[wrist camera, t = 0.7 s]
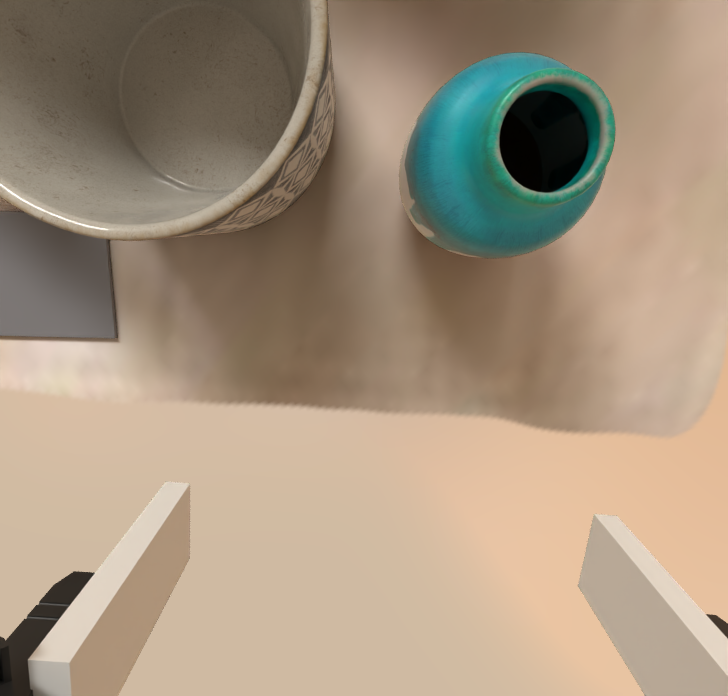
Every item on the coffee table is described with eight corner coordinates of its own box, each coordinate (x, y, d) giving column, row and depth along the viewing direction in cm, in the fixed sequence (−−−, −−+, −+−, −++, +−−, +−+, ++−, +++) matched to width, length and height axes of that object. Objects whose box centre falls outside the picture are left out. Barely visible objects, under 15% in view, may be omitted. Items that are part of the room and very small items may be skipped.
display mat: (-21, 210, 39) (-25, 210, 38) (106, 214, 39) (103, 214, 38) (-3, 334, 41) (-6, 335, 41) (117, 337, 41) (115, 338, 41)
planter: (117, 249, 39) (-49, 260, 23) (60, -22, 35) (-192, -237, 19) (354, 225, 39) (349, 219, 23) (325, -51, 35) (296, -295, 19)
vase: (426, 275, 40) (483, 310, 21) (369, 151, 38) (379, 71, 19) (546, 216, 39) (716, 199, 20) (495, 86, 37) (633, -66, 18)
